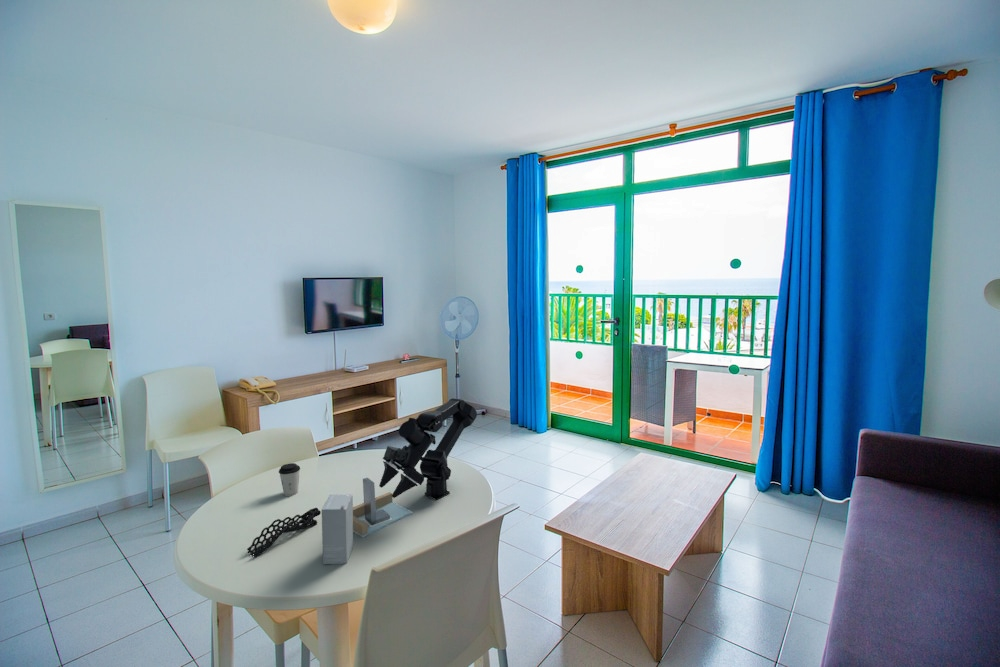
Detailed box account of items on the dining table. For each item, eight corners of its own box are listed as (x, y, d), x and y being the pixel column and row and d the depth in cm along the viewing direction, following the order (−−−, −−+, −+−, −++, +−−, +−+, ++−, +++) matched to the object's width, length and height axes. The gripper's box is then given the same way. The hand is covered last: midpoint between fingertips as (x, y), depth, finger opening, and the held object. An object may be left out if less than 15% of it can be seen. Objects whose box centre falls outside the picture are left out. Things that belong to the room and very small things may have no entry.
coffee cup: (305, 488, 166) (303, 462, 165) (295, 498, 159) (293, 470, 158) (287, 488, 167) (285, 461, 166) (276, 497, 160) (274, 469, 159)
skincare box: (330, 547, 129) (327, 493, 127) (356, 546, 130) (353, 492, 128) (321, 566, 121) (317, 508, 119) (349, 564, 121) (346, 507, 119)
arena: (389, 502, 155) (389, 491, 155) (412, 513, 147) (411, 502, 147) (340, 523, 142) (340, 512, 141) (362, 537, 134) (362, 525, 133)
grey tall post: (382, 512, 147) (381, 473, 145) (390, 518, 143) (388, 478, 141) (364, 519, 143) (362, 478, 142) (371, 525, 139) (369, 484, 138)
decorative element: (256, 560, 124) (255, 540, 123) (245, 555, 126) (243, 535, 126) (324, 522, 144) (323, 504, 143) (313, 518, 146) (312, 500, 145)
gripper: (386, 429, 153) (356, 470, 147) (413, 444, 138) (380, 490, 133) (409, 446, 159) (380, 486, 153) (437, 462, 144) (406, 507, 139)
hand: (386, 491), depth 144 cm, fingers open, 9 cm apart
